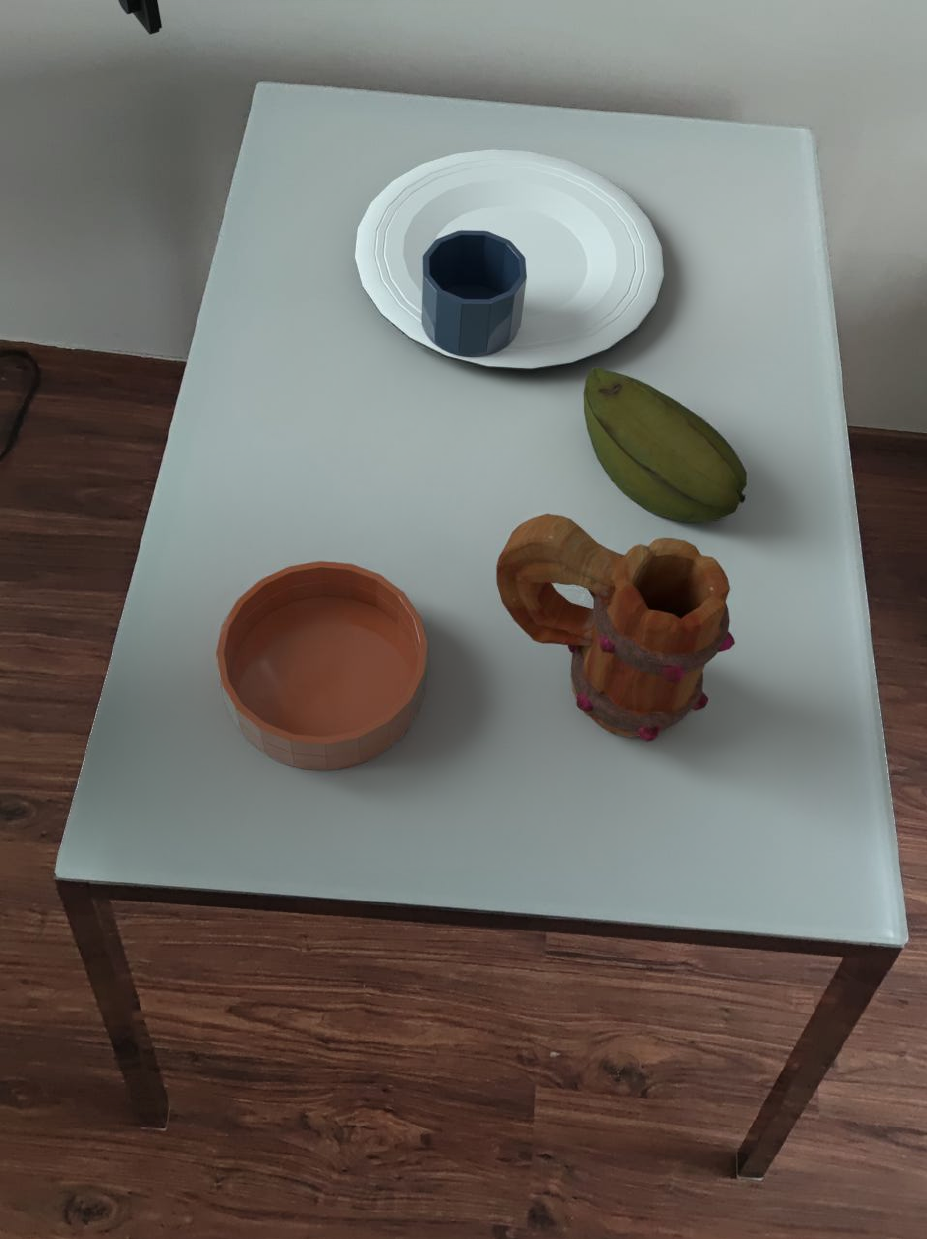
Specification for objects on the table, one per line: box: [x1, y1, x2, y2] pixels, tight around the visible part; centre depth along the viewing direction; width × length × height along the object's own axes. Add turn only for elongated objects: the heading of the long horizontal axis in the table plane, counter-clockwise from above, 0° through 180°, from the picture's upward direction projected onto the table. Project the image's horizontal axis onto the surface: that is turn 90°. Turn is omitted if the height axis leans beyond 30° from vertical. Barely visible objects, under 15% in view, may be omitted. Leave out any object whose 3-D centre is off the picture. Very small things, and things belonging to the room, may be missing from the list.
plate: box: [354, 148, 665, 371], centre depth 99 cm, size 25×25×2 cm
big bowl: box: [215, 560, 429, 771], centre depth 78 cm, size 13×13×4 cm
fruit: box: [583, 366, 748, 523], centre depth 87 cm, size 11×12×7 cm
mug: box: [495, 513, 736, 743], centre depth 74 cm, size 15×8×15 cm, turn 65°
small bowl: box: [421, 230, 527, 357], centre depth 91 cm, size 8×8×6 cm
